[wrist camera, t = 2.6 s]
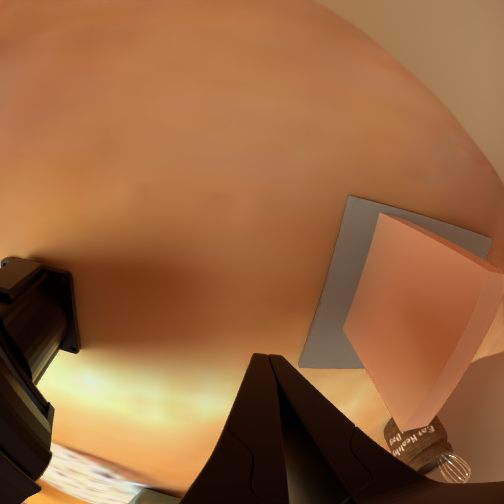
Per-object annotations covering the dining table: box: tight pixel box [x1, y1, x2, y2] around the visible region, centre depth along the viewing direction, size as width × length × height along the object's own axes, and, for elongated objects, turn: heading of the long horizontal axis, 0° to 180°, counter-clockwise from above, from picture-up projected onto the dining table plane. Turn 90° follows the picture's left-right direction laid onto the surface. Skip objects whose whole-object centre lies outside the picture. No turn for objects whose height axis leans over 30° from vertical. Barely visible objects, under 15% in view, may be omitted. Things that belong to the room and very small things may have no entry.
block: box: [343, 212, 504, 432], centre depth 13 cm, size 8×2×9 cm, turn 169°
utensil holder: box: [384, 415, 470, 483], centre depth 19 cm, size 6×6×12 cm
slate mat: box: [298, 195, 493, 369], centre depth 19 cm, size 12×14×1 cm
